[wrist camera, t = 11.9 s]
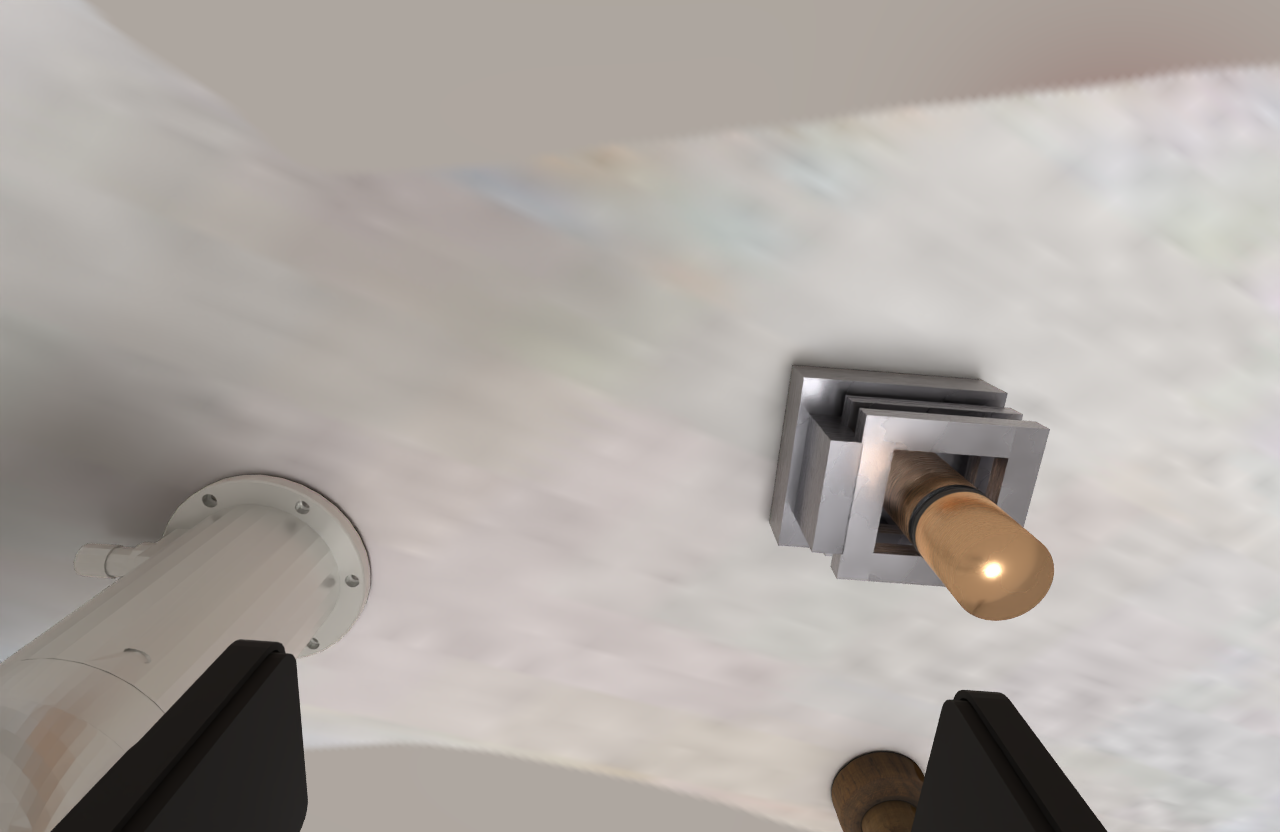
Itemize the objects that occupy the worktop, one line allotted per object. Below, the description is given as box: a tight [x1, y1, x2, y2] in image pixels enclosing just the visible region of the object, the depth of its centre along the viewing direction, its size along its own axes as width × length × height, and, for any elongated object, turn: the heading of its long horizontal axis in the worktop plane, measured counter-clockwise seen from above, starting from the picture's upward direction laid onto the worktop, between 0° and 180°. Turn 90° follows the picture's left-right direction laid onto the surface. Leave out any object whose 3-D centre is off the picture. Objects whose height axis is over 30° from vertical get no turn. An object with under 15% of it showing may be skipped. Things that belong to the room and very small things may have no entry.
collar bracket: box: [769, 365, 1050, 587], centre depth 37 cm, size 11×10×7 cm
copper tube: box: [883, 449, 1054, 621], centre depth 32 cm, size 4×4×11 cm
